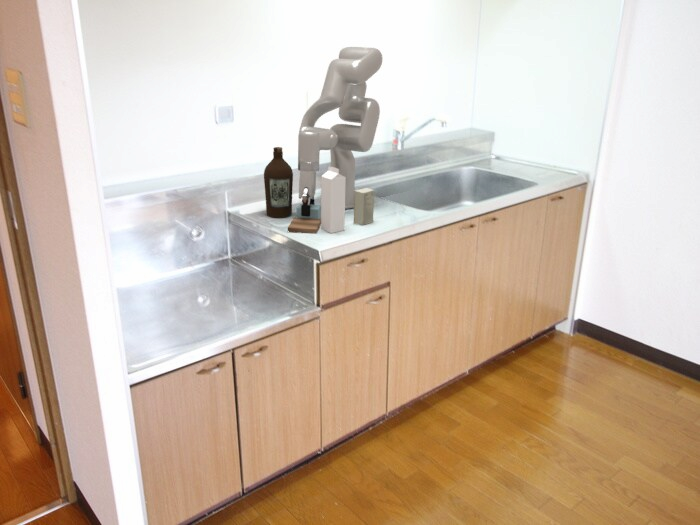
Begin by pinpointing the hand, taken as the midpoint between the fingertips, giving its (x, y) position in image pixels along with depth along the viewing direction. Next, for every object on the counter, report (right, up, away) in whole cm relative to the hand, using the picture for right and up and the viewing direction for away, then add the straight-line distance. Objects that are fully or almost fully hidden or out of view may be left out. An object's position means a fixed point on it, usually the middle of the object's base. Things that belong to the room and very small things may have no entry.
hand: (307, 212), depth 224 cm
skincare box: (+20, -4, -1) cm, 21 cm away
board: (-1, -6, -8) cm, 10 cm away
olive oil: (-11, 0, +6) cm, 13 cm away
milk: (+9, -7, -9) cm, 15 cm away
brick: (0, -2, +2) cm, 3 cm away
